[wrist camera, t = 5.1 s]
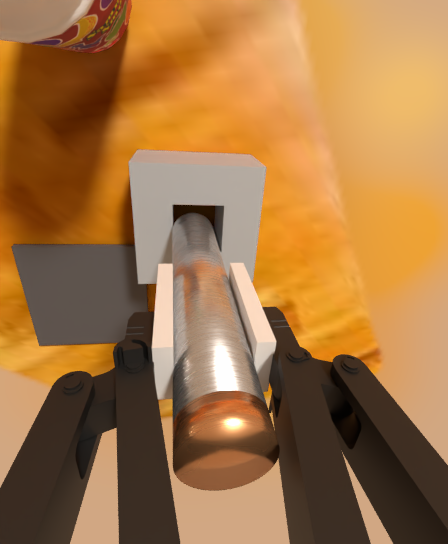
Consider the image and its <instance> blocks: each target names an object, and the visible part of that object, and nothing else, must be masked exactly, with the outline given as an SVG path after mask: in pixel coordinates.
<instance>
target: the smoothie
mask: <svg viewBox="0 0 448 544" xmlns="http://www.w3.org/2000/svg"><path fill="white" fill-rule="evenodd" d="M131 7H132V5H131V0H0V40H5V41H14V42H22V43H28V44H34V45H40V46H46V47H52V48H58V49H64V50H70V51H76V52H84V53H97V52H100V51H103V50H106V49H109V48H110V47H111V46H113V45H114V44H115V43H116V42H117V41H118V40H120V38H121V37H122V35H123V33H124V31H125V29H126V28H127V26H128V23H129V18H130V12H131Z"/></svg>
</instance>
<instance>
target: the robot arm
mask: <svg viewBox="0 0 448 544" xmlns="http://www.w3.org/2000/svg"><path fill="white" fill-rule="evenodd" d="M229 283H230V286H231V289H232V293H233V296H234V299H235V302H236V306H237V309H238V312H239V316H240V319H241V322H242V325H243V329H244V332H245V335H246V339H247V342H248V345H249V348H250V352H251V355H252V358H253V362H254V365H255V368H256V371H257V375H258V378H259V381H260V384H261V388H262V391H263V392H266V391H268V386H269V383H270V386H271V388H272V395H271V400H270V406H269V413H271V411H272V413H273V420H274V428H275V434H276V437H277V440H278V443H279V447H280V453H279V457H278V458H279V465H280V473H281V480H282V488H283V495H284V503H285V509H286V518H287V525H288V533H289V540H290V544H371V543H370V540H369V537H368V534H367V530H366V527H365V524H364V521H363V518H362V514H361V511H360V508H359V505H358V502H357V498H356V495H355V493H354V489H353V486H352V482H351V480H350V476H349V473H348V470H347V467H346V463H345V460H344V457H343V454H344V456H345V458H346V459H347V461H348V463H349V465H350V466H351V468H352V470H353V472H354V474H355V476H356V477H357V479H358V481H359V483H360V484H361V486H362V488H363V490H364V492H365V493H366V495H367V497H368V499H369V501H370V502H371V504H372V506H373V508H374V510H375V511H376V513H377V515H378V517H379V519H380V520H381V522H382V524H383V526H384V527H385V529H386V531H387V533H388V535H389V537H390V538H391V540H392V542H393V544H448V465H447V464H446V463H445V462H444V460H443V459H442V458H441V457H440V455H439V454H438V453H437V452H436V450H435V449H434V448H433V447H432V446H431V444H430V443H429V442H428V441H427V439H426V438H425V437H424V436H423V435H422V433H421V432H420V431H419V430H418V428H417V427H416V426H415V425H414V424H413V422H412V421H411V420H410V419H409V418H408V416H407V415H406V414H405V413H404V411H403V410H402V409H401V408H400V406H399V405H398V404H397V403H396V402H395V400H394V399H393V398H392V397H391V395H390V394H389V393H388V392H387V391H386V389H385V388H384V387H383V386H382V384H380V382H379V381H378V380H377V378H376V377H375V376H374V375H373V373H372V372H371V371H370V370H369V369H368V367H367V366H366V365H365V364H364V363H363V362H362V361H361V360H359V359H358V358H356V357H354V356H350V355H342V354H341V355H338V356H336V357H335V358H334V359H333V362H328V361H323V360H318V359H315V358H312V356H311V354H310V353H309V352H308V351H307V350H306V349H304V348H302V347H300V346H299V344H298V342H297V340H296V338H295V336H294V334H293V332H292V330H291V328H290V327H289V324H288V322H287V321H286V318H285V316H284V314H283V313H282V312H281V311H280V310H279V309H278V308H276V307H262V306H261V303H260V301H259V299H258V296H257V294H256V292H255V289H254V287H253V284H252V282H251V280H250V277H249V275H248V273H247V270H246V268H245V265H244V263H230V270H229ZM113 356H114V363H115V368H113V369H112V370H110V371H109V372H107V373H104V374H101V375H98V376H95V377H92V376H91V375H90V374H89V373H87V372H83V371H75V372H70V373H68V374H65V375H63V376H62V377H60V378H59V379H58V380H57V381H56V382H55V383H54V385H53V386H52V388H51V390H50V392H49V394H48V396H47V398H46V400H45V402H44V404H43V406H42V407H41V410H40V411H39V413H38V415H37V417H36V419H35V421H34V423H33V425H32V427H31V429H30V431H29V433H28V435H27V437H26V439H25V441H24V443H23V445H22V447H21V449H20V451H19V452H18V454H17V456H16V458H15V460H14V462H13V464H12V466H11V468H10V470H9V472H8V474H7V476H6V478H5V480H4V482H3V484H2V486H1V488H0V544H70V541H71V538H72V534H73V531H74V527H75V524H76V521H77V517H78V514H79V511H80V507H81V504H82V500H83V497H84V493H85V490H86V487H87V483H88V480H89V477H90V473H91V470H92V466H93V463H94V459H95V456H96V453H97V449H98V446H99V442H100V439H101V436H102V433H104V432H106V431H109V430H111V429H114V428H117V463H118V464H117V465H118V466H117V467H118V516H119V544H180V539H179V532H178V526H177V519H176V513H175V507H174V501H173V494H172V488H171V481H170V475H169V468H168V461H167V455H166V449H165V442H164V436H163V430H162V423H161V416H160V410H159V404H158V400H160V399H173V370H174V350H173V264H158V275H157V288H156V301H155V312H134V313H133V314H132V316H131V317H130V318H129V319H128V324H127V329H126V335H125V339H124V340H122V341H121V342H119V343H118V344H117V345H116V346H115V347H114V351H113ZM341 450H342V451H341ZM342 452H343V454H342Z"/></svg>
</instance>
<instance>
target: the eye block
mask: <svg viewBox="0 0 448 544" xmlns="http://www.w3.org/2000/svg"><path fill="white" fill-rule="evenodd" d="M129 173H130V186H131V199H132V211H133V224H134V236H135V249H136V262H137V274H138V284H157V275H158V264H172V229H173V225H174V205H215V222H214V227H213V230H214V234H215V237H216V240H217V243H218V247H219V250H220V253H221V257H222V260H223V263H224V266H225V270H226V273H227V276H228V280H229V270H230V263H244V265H245V268H246V270H247V273H248V275H249V277H250V280H251V282H253V276H254V267H255V259H256V251H257V242H258V234H259V225H260V217H261V209H262V200H263V192H264V183H265V175H266V167H265V166H264V165H263V164H262V163H260V162H259V161H258V160H257V159H256V158H254V157H253V156H252V155H251V154H230V153H207V152H184V151H161V150H137V151H136V153H135V154H134V155H133V157H132V158H131V159H130V161H129Z"/></svg>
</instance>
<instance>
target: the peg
mask: <svg viewBox="0 0 448 544" xmlns="http://www.w3.org/2000/svg"><path fill="white" fill-rule="evenodd" d="M172 264H173V350H174V370H173V470H174V473H175V475H176V476H177V478H178V479H179V480H180V481H181V482H183V483H184V484H186V485H188V486H190V487H193V488H197V489H201V490H227V489H232V488H236V487H240V486H243V485H246V484H248V483H251V482H252V481H255V480H257V479H258V478H260V477H262V476H263V475H265V474H266V473H267V472H268V471H269V470H270V469H271V468H272V467H273V466H274V464H275V463H276V461H277V460H278V457H279V453H280V447H279V443H278V440H277V437H276V434H275V430H274V427H273V424H272V421H271V417H270V414H269V411H268V408H267V404H266V401H265V398H264V394H263V391H262V388H261V384H260V381H259V378H258V375H257V371H256V368H255V365H254V362H253V358H252V355H251V352H250V348H249V345H248V342H247V339H246V335H245V332H244V329H243V325H242V322H241V319H240V316H239V312H238V309H237V306H236V302H235V299H234V296H233V293H232V289H231V286H230V283H229V280H228V276H227V273H226V270H225V266H224V263H223V260H222V257H221V253H220V250H219V247H218V243H217V240H216V237H215V234H214V230H213V227H212V224H211V222H210V221H209V220H208V219H207V218H206V217H205V216H203V215H201V214H198V213H187V214H184V215H182V216H181V217H179V218H178V219H177V220H176V222H175V223H174V225H173V229H172Z"/></svg>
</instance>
